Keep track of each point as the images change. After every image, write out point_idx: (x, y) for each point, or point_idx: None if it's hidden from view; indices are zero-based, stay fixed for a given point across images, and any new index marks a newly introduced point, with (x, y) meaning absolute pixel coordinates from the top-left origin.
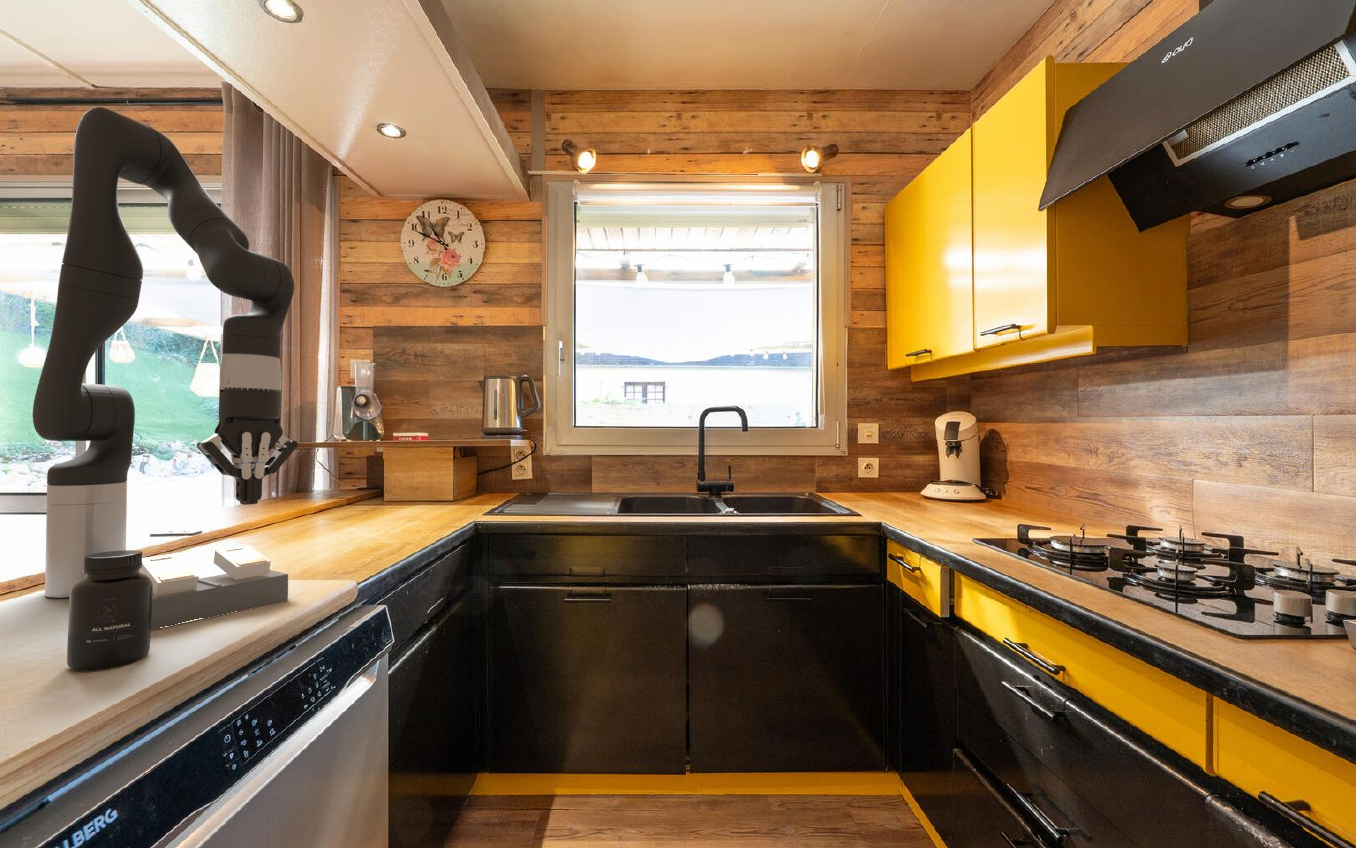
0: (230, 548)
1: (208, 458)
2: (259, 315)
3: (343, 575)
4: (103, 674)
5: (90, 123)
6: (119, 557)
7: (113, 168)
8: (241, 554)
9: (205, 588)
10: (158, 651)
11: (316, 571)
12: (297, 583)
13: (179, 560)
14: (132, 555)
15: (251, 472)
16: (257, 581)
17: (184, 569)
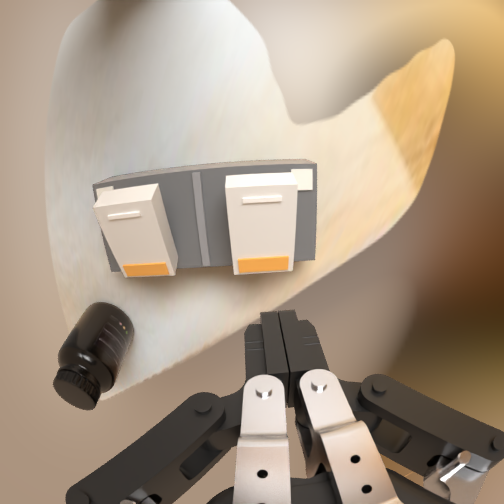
0: (256, 189)
1: (124, 458)
2: None
3: (427, 156)
4: None
5: None
6: (82, 408)
7: None
8: (262, 227)
9: (189, 261)
10: (140, 328)
11: (420, 90)
12: (369, 141)
13: (151, 226)
14: (90, 409)
15: (301, 412)
16: None
17: (157, 254)
